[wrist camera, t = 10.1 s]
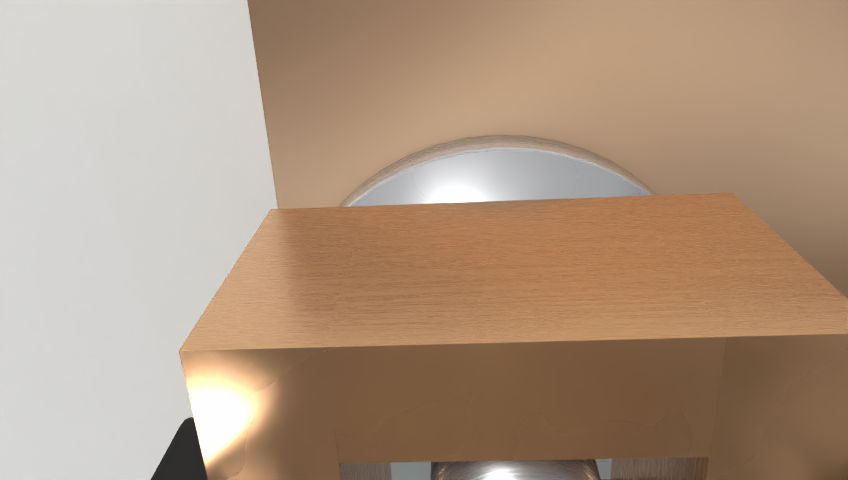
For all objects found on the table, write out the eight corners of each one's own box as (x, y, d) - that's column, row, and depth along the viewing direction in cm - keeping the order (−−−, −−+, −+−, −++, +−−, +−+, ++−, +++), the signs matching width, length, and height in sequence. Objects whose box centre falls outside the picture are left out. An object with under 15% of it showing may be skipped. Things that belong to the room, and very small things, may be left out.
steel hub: (684, 485, 15) (825, 825, 9) (319, 490, 16) (241, 818, 10) (729, 125, 12) (987, 305, 6) (268, 143, 12) (109, 329, 7)
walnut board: (1109, 529, 17) (1418, 812, 12) (342, 537, 18) (294, 799, 13) (1401, -105, 11) (2266, -138, 6) (264, -42, 13) (119, -20, 7)
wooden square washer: (686, 539, 13) (775, 770, 10) (321, 543, 14) (273, 767, 10) (732, 192, 10) (883, 332, 7) (271, 209, 11) (179, 350, 7)
